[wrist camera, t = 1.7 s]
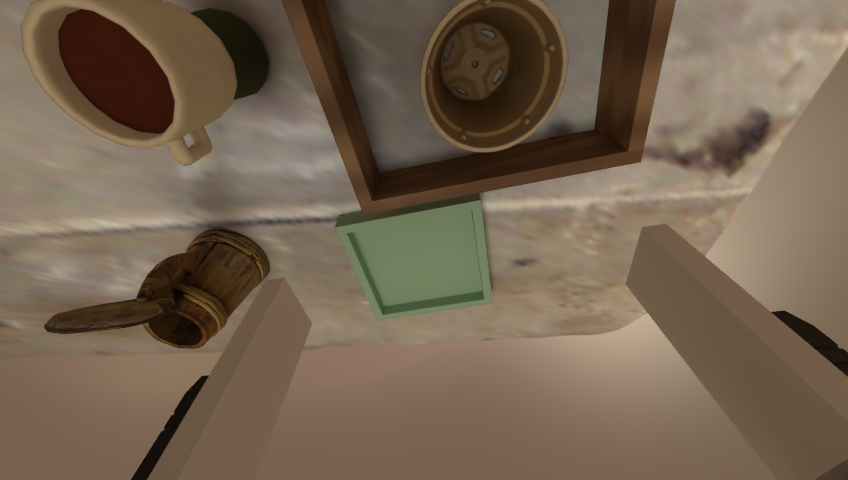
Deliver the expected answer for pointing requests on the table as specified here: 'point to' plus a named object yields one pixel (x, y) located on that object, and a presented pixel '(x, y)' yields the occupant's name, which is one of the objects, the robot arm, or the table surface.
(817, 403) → the robot arm
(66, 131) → the table surface
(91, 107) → the character mug
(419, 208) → the green tray
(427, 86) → the flower pot
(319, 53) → the walnut crate
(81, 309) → the wooden mug
